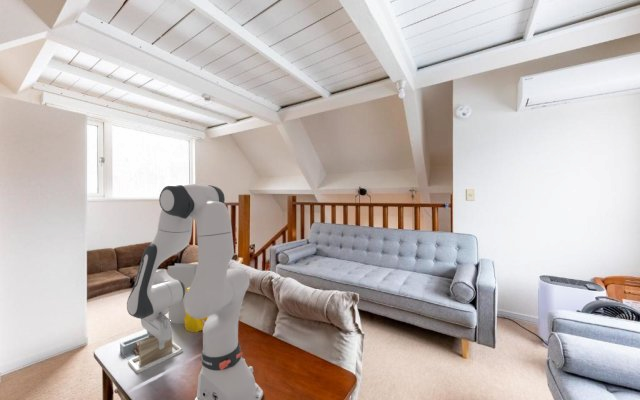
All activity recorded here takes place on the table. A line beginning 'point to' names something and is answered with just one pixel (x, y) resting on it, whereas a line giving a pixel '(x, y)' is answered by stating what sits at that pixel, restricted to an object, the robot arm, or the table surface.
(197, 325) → the figure statuette
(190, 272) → the grey tall block
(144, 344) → the maple sheet
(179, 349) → the tray
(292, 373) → the table surface
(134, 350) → the offcut
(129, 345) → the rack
